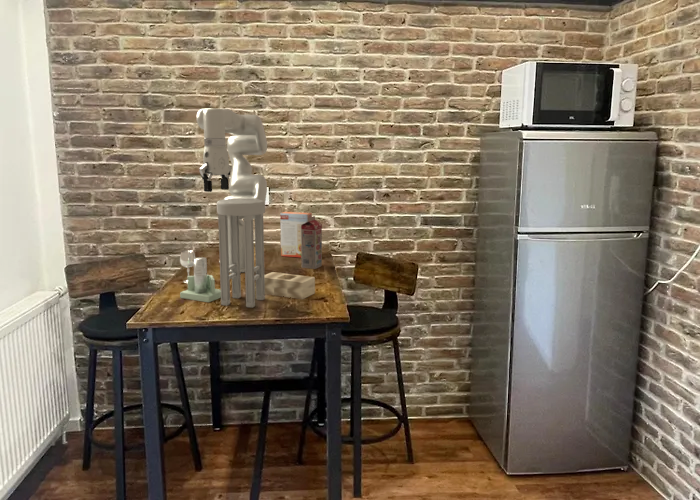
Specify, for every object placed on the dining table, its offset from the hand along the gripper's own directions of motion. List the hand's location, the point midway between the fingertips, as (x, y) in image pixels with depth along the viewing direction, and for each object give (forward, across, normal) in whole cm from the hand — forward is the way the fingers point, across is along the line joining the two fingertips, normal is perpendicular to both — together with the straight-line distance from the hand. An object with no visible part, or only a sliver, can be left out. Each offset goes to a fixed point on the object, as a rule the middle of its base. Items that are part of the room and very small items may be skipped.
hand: (216, 190), depth 215 cm
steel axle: (+34, -16, -4) cm, 38 cm away
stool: (+36, -13, -20) cm, 44 cm away
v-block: (+36, -15, -4) cm, 39 cm away
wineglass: (+36, 0, +15) cm, 39 cm away
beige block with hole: (+36, +3, -28) cm, 46 cm away
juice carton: (+36, +45, -15) cm, 60 cm away
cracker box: (+36, +61, +2) cm, 71 cm away
